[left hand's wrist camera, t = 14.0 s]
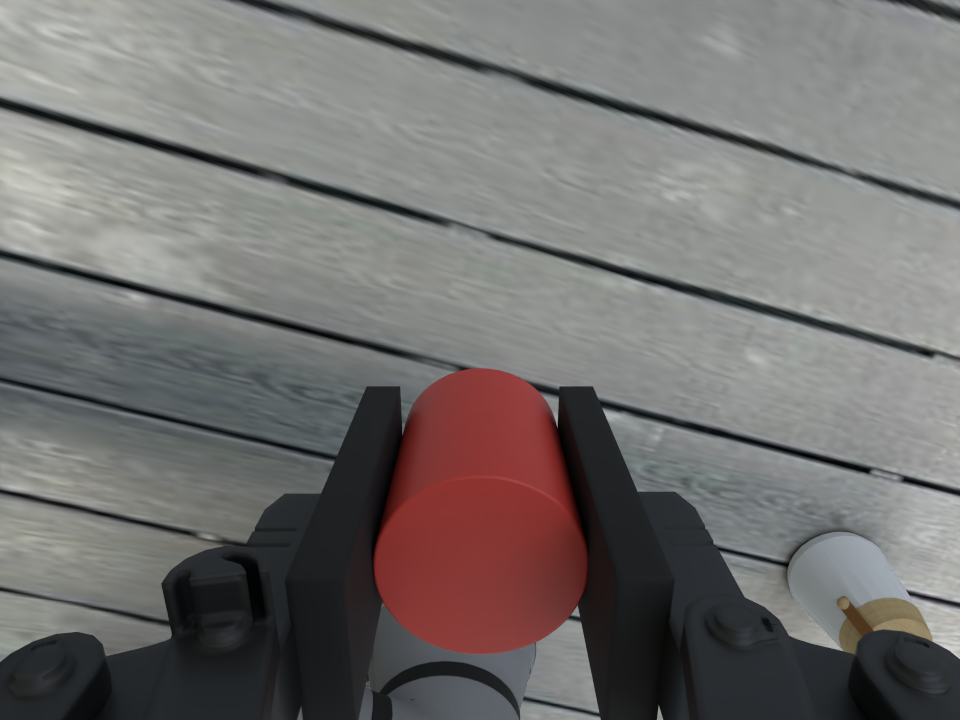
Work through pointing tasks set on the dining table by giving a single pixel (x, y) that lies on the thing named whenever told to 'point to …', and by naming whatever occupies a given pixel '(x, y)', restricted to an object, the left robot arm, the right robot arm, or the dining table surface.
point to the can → (480, 519)
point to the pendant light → (851, 589)
